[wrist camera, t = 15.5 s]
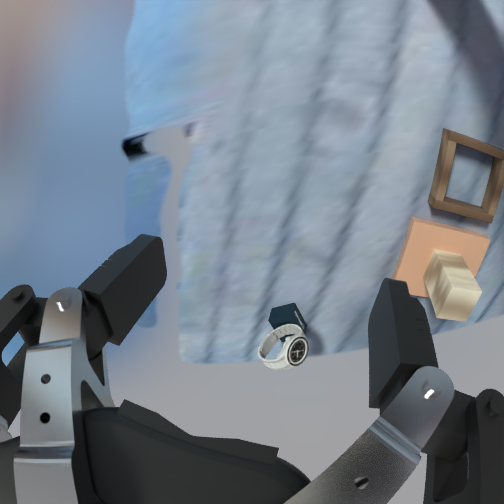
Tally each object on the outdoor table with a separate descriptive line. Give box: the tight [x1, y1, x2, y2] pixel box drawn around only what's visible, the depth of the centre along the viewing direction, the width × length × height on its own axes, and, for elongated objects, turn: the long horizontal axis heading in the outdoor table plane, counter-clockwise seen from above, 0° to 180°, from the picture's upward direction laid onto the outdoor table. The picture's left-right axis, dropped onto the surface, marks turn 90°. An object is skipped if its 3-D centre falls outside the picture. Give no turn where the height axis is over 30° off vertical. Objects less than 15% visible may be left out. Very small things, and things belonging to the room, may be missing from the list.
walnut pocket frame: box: [428, 128, 504, 223], centre depth 30 cm, size 10×10×2 cm
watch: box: [258, 303, 309, 370], centre depth 46 cm, size 6×8×11 cm
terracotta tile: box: [392, 217, 491, 298], centre depth 37 cm, size 12×14×2 cm
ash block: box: [423, 249, 482, 321], centre depth 33 cm, size 5×5×9 cm
